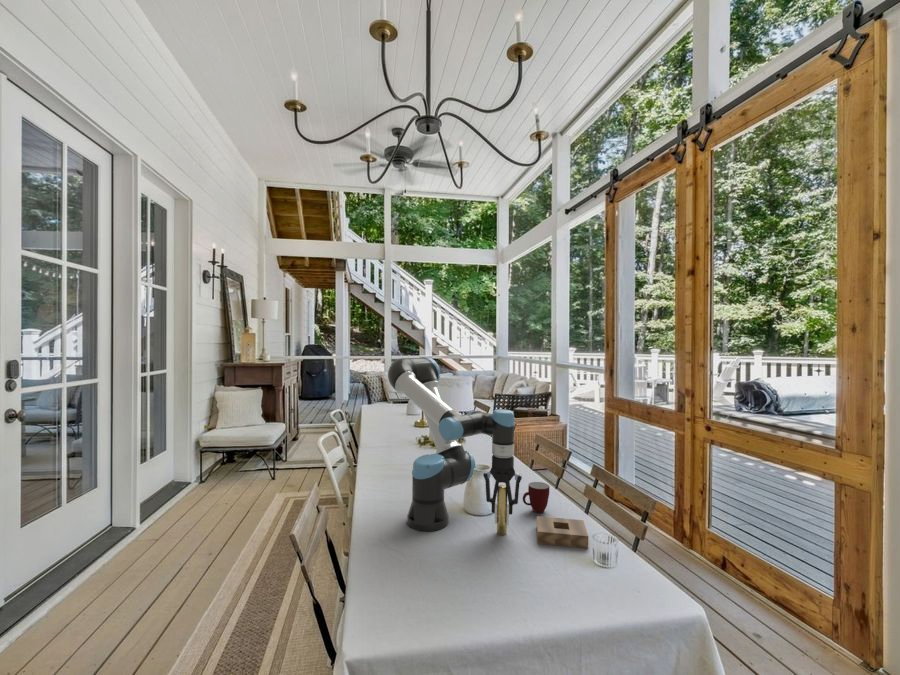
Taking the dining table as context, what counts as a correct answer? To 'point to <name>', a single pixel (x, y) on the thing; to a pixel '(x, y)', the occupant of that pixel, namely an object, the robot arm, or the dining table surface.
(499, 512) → the brass peg
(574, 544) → the socket block
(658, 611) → the dining table surface
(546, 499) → the mug
